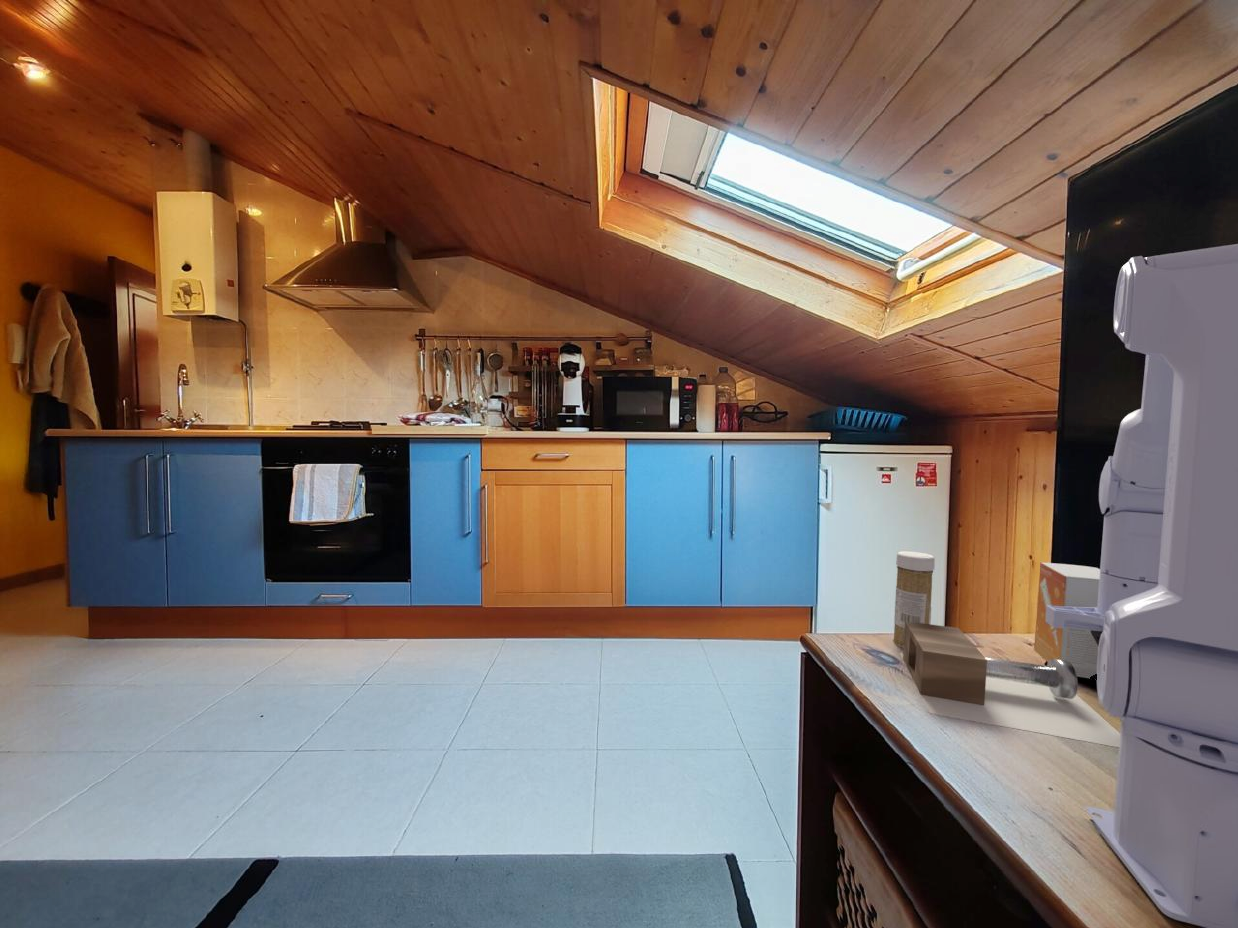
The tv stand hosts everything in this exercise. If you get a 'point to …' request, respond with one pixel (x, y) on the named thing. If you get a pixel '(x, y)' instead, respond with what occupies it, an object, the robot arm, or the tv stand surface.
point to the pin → (1037, 674)
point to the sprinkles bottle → (912, 591)
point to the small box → (1068, 591)
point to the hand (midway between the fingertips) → (1127, 701)
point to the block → (944, 663)
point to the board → (1030, 712)
